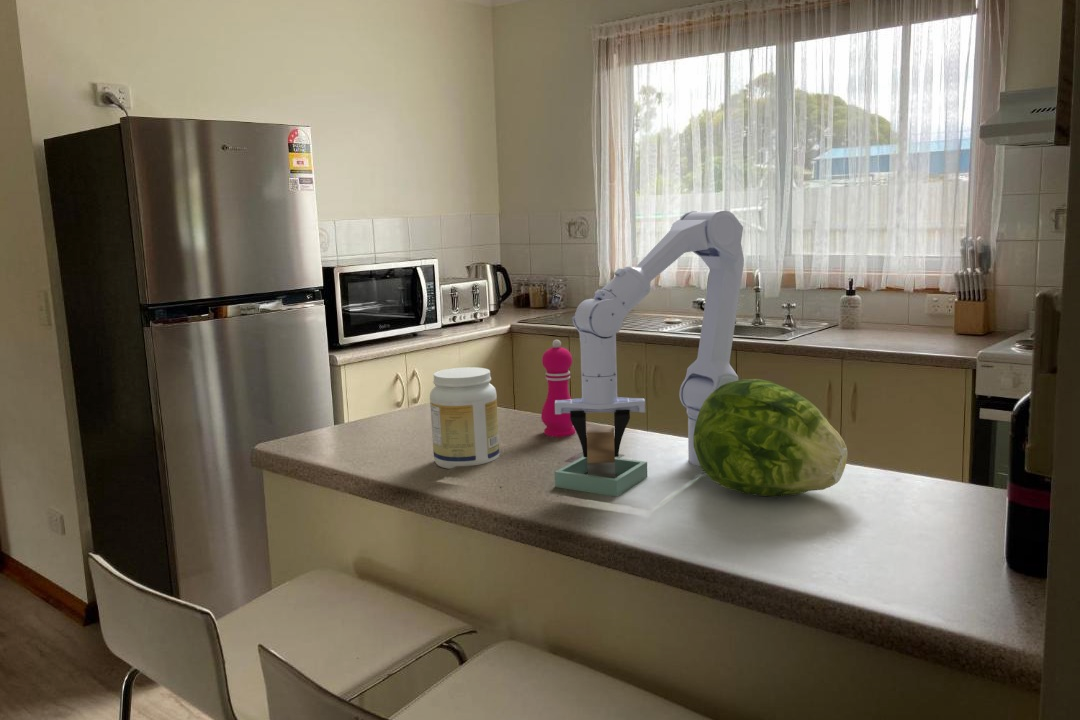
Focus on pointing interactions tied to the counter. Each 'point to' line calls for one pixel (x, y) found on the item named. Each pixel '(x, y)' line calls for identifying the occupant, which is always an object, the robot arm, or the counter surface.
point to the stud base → (582, 456)
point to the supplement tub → (464, 417)
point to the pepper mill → (557, 390)
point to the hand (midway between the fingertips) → (601, 455)
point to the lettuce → (767, 440)
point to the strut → (601, 451)
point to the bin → (577, 480)
